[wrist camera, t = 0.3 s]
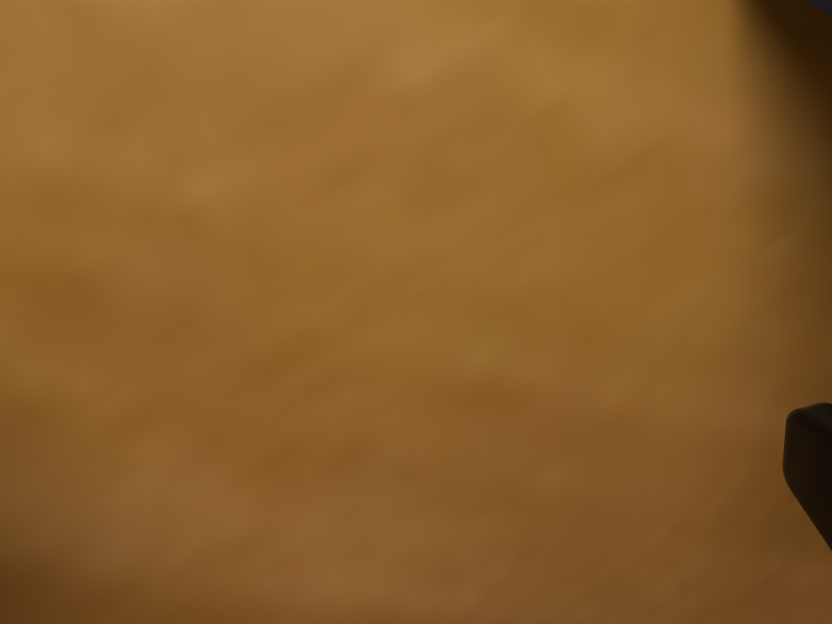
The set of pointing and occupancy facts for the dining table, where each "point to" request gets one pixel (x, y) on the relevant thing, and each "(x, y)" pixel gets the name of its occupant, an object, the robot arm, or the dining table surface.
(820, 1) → the box
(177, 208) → the dining table surface
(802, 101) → the dining table surface
